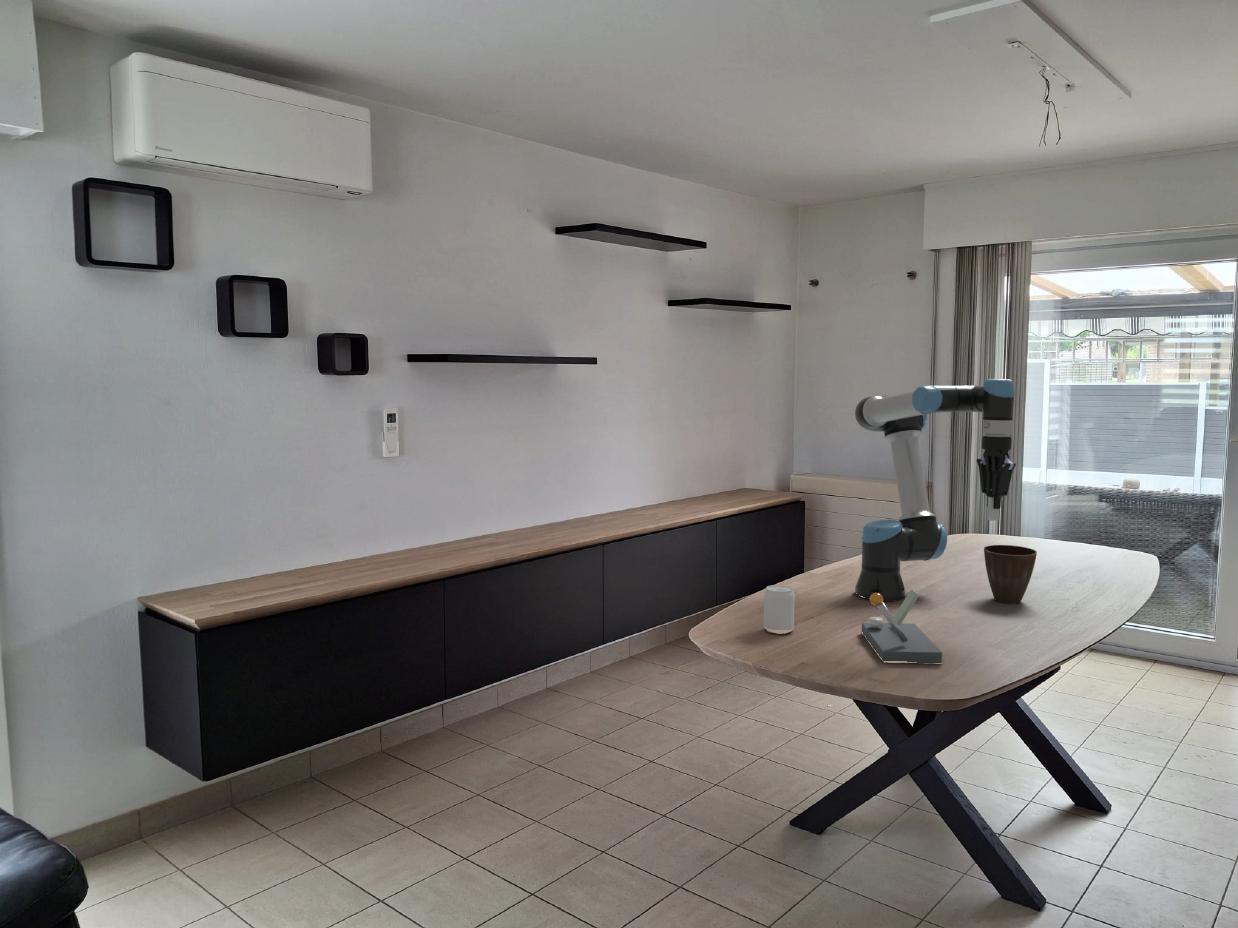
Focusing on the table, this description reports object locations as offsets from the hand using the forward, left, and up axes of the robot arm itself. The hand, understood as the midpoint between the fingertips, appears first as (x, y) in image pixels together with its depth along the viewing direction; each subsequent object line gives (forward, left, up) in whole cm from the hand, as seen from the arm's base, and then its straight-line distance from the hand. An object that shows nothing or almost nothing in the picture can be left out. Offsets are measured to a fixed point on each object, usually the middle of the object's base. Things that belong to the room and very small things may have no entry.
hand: (992, 519), depth 243 cm
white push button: (+4, -39, -26) cm, 47 cm away
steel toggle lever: (+19, -39, -26) cm, 51 cm away
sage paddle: (+5, -35, -26) cm, 44 cm away
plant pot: (-18, +22, -30) cm, 41 cm away
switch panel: (+12, -37, -29) cm, 49 cm away
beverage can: (-10, -60, -30) cm, 68 cm away
